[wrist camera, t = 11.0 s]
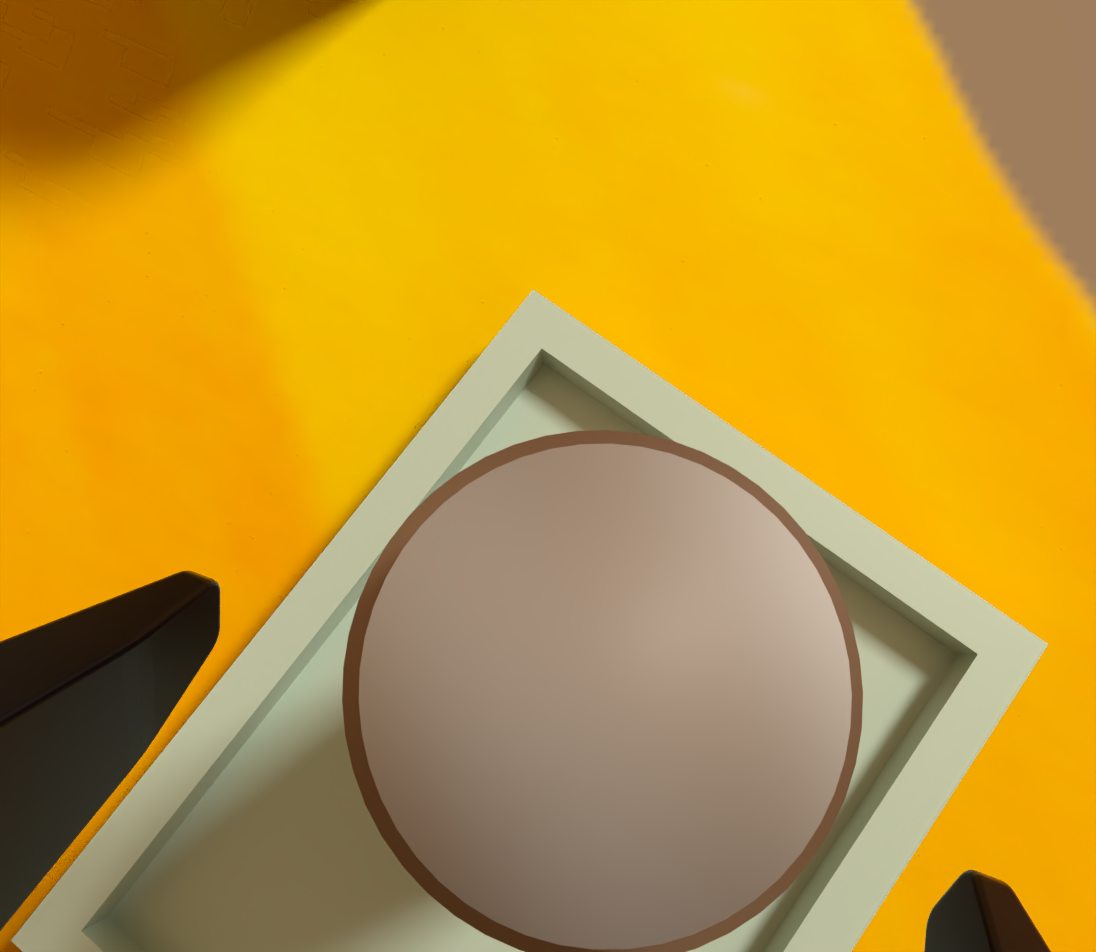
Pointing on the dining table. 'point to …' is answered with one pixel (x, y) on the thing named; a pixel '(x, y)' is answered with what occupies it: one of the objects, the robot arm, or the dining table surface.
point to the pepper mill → (602, 695)
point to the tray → (319, 734)
